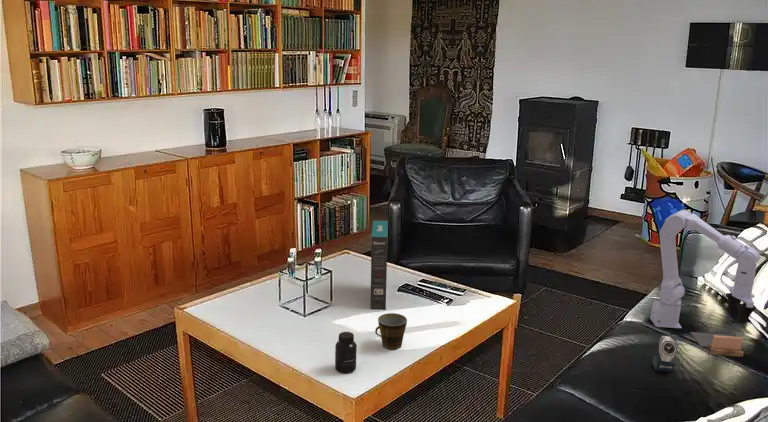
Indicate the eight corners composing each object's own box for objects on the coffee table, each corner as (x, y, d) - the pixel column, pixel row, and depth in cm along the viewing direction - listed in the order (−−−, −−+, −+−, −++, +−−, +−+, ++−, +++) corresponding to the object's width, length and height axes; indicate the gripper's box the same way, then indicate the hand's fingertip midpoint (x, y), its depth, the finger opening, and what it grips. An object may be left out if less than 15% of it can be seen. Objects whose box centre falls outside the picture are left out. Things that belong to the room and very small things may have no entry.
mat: (700, 346, 222) (701, 345, 222) (690, 333, 233) (690, 332, 233) (742, 350, 221) (742, 348, 220) (730, 335, 231) (730, 334, 231)
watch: (657, 373, 203) (662, 342, 201) (651, 361, 211) (655, 331, 208) (675, 375, 203) (680, 344, 200) (668, 363, 210) (673, 333, 207)
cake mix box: (385, 309, 247) (387, 237, 239) (370, 309, 247) (371, 236, 239) (386, 288, 268) (387, 220, 260) (372, 288, 268) (373, 220, 260)
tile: (712, 352, 218) (715, 337, 217) (710, 350, 220) (713, 335, 218) (739, 354, 217) (742, 339, 216) (737, 352, 219) (740, 337, 217)
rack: (712, 354, 217) (713, 350, 216) (707, 348, 221) (708, 344, 221) (743, 356, 216) (743, 352, 215) (737, 350, 220) (738, 346, 220)
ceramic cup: (391, 336, 225) (392, 310, 222) (412, 346, 218) (413, 319, 216) (365, 347, 216) (365, 321, 214) (385, 358, 209) (386, 331, 207)
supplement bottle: (348, 376, 198) (348, 341, 195) (330, 370, 201) (330, 336, 198) (360, 367, 203) (360, 333, 200) (343, 361, 207) (343, 328, 204)
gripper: (765, 291, 211) (758, 327, 215) (746, 275, 225) (740, 310, 229) (743, 289, 212) (737, 326, 216) (726, 274, 226) (719, 309, 230)
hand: (737, 318), depth 222 cm, fingers open, 7 cm apart
